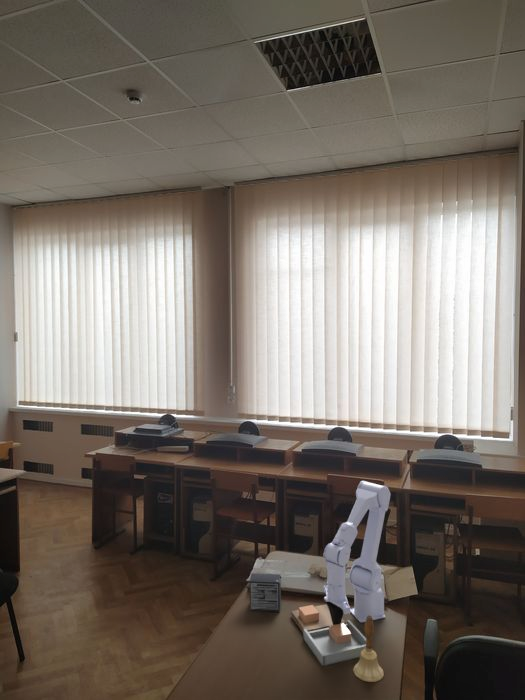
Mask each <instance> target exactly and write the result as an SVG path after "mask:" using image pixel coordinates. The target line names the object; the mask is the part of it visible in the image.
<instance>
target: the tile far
mask: <svg viewBox="0 0 525 700" xmlns="http://www.w3.org/2000/svg"><path fill="white" fill-rule="evenodd" d="M298 610H299V616H300V617H301V618H302V620H303V621H304V622H305V623H308V622H313V621H317V620H319V612H318V611H317V609H316V608H315V606H314V604H310V605H305V606H301V607H300V606H299V607H298Z"/></svg>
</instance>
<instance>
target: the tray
mask: <svg viewBox="0 0 525 700" xmlns="http://www.w3.org/2000/svg"><path fill="white" fill-rule="evenodd" d="M345 625H346V627H347V628H348V629H349V631H350V632H351V641H348V642H344V643H339V644H336V643H335V641H334V640H333V638H332V637H331V635H330V634H329V628H324V629H320V630H315V631H310V632H308V631H307V630H306V629H303V633H302V637H303V638H302V639H303V641H305V643H306V644H307V646H308V648H309V649H310V650H311V651H312V653H313V655H314V656H315V657H316V659H317V660H318V662H319V664H320V665H322V667H326V666H329V665H333V664H338V663H342V662H343V663H344V662H347V661H350V660H355V659H360V655H361V651H362V650H364V649H366V635H364V634H363V633H362V632H361V631H360V630H359V629H358V628H357V626H356V625H355V624H354V623H353V622H352V621H351V620H350V619H347V620H346V624H345Z"/></svg>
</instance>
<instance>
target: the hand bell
mask: <svg viewBox="0 0 525 700" xmlns="http://www.w3.org/2000/svg"><path fill="white" fill-rule="evenodd" d="M374 624H375V623H374V620H372V616H367V619H366V622H364V634H365V635H364V636H365V638H366V649H364V650H362V651H361V655H360V658H359V660H358V662H357V663H355V665H354V667H353V673H354V674H353V675H354V676H356V677H357V678H358V679H359V680H361V681H364V682H366V683H367V682H368V683H376V682H379V681H381V680H382V679H383V677H384V670H383V668H382V667H381V666H380V664H379V662H378V654H377V653H376V651H375V650H373V636H374V633H375V625H374Z"/></svg>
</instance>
